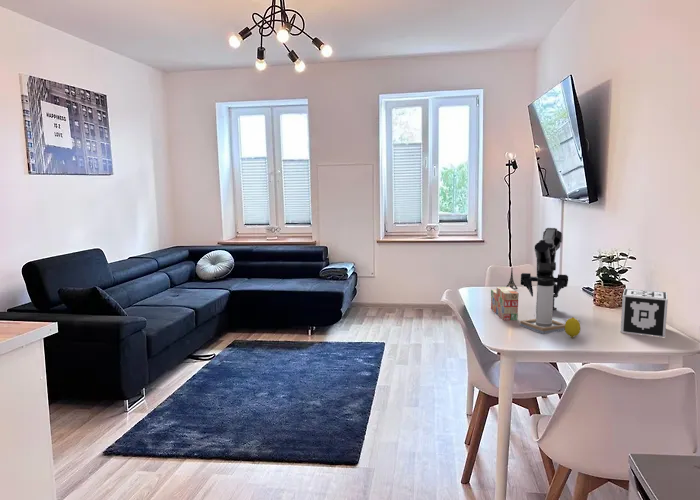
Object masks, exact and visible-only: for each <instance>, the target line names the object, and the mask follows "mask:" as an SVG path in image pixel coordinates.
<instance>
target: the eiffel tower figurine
mask: <svg viewBox="0 0 700 500" xmlns="http://www.w3.org/2000/svg"><path fill="white" fill-rule="evenodd" d="M513 269H514V268H513V267H511V269H510V270H511V271H510V279H509V281H508V283H507V285H504V286H503V285H502V286H501V287H510V288H512V289H514V290H518V289H519V287H518V286H517V285H516V283H515V282H514V276H513V275H514V274H513Z"/></svg>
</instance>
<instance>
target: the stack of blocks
mask: <svg viewBox="0 0 700 500" xmlns="http://www.w3.org/2000/svg"><path fill="white" fill-rule="evenodd" d="M490 309H491V310H492V311H493V312H494V313H495V314H496V315H498V316H499V318H501V319H502V321H518V316H519V315H518V310H519V292H517V290H516V289H512V288H510V287H502V286H497V287H496V289H490Z"/></svg>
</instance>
